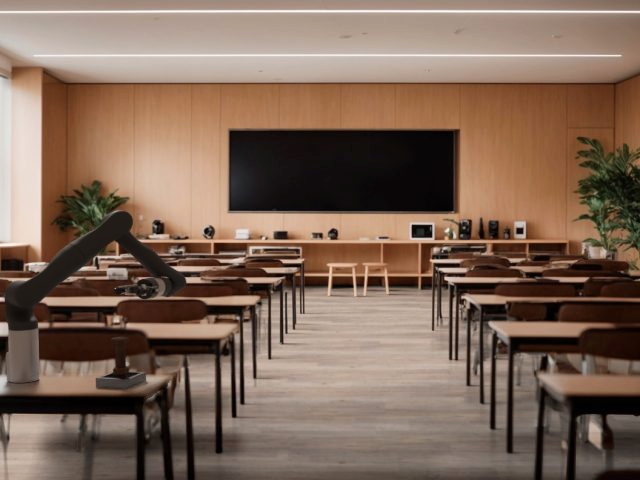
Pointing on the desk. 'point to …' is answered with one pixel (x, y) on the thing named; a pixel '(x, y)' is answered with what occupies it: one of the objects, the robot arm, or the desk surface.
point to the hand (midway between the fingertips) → (125, 291)
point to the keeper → (120, 380)
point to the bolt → (120, 356)
